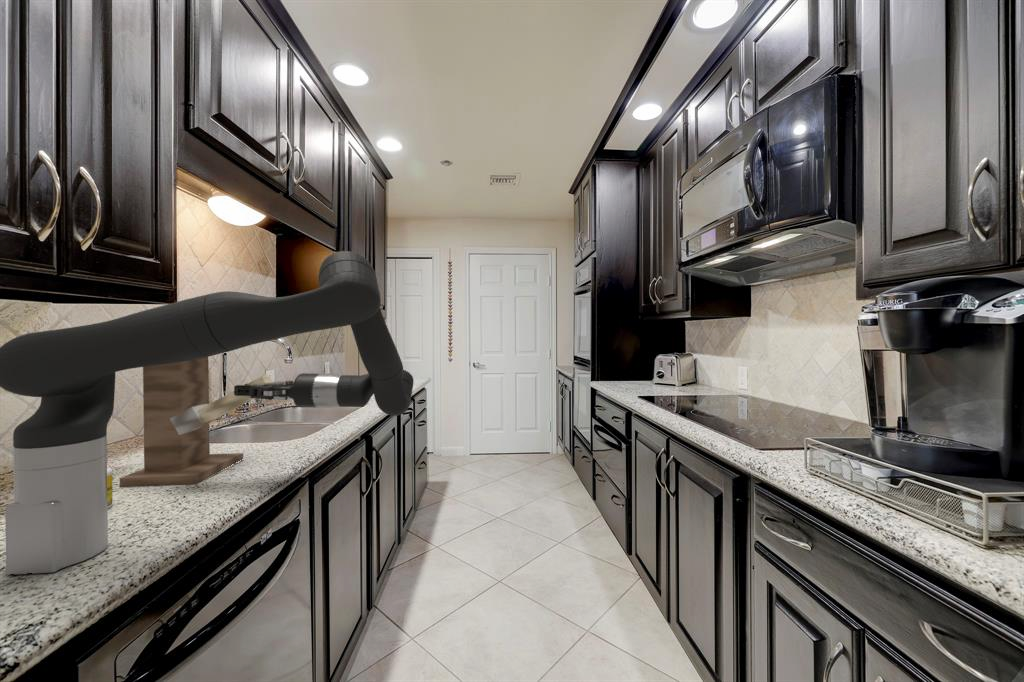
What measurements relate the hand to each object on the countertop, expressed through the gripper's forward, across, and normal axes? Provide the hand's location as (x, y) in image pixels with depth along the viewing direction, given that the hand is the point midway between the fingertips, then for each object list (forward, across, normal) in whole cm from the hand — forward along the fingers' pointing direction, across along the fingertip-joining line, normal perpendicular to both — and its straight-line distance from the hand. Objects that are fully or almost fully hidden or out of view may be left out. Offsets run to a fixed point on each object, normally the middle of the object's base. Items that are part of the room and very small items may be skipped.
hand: (240, 389), depth 89 cm
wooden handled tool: (+1, 0, -4) cm, 4 cm away
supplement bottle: (+20, -10, -22) cm, 32 cm away
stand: (+18, +12, -22) cm, 31 cm away
